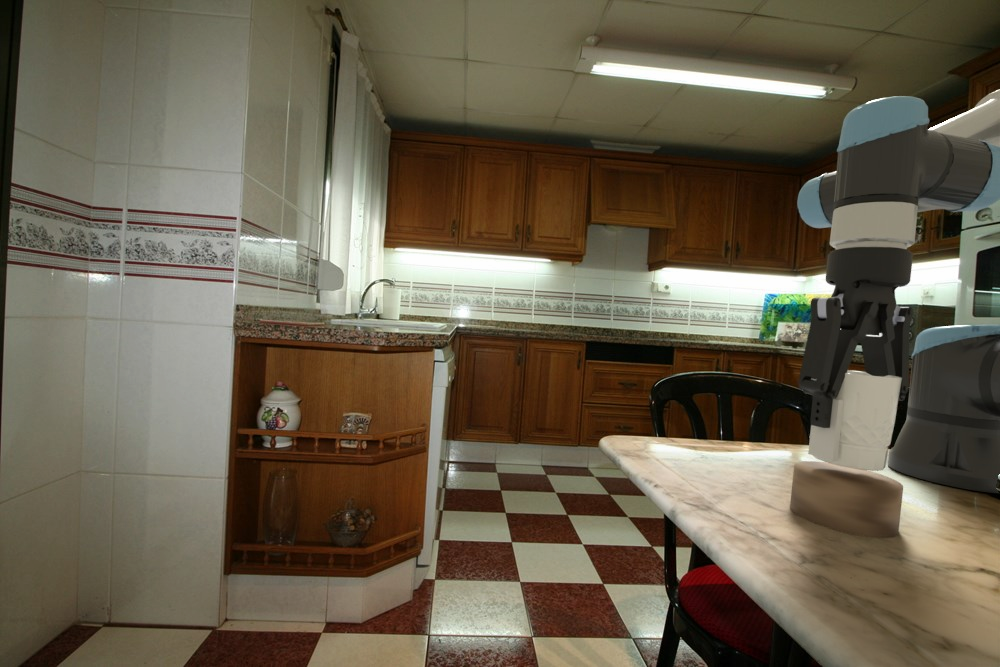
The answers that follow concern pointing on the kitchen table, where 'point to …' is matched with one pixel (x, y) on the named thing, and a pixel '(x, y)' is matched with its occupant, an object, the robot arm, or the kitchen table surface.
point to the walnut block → (847, 499)
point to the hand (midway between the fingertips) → (847, 455)
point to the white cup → (866, 420)
